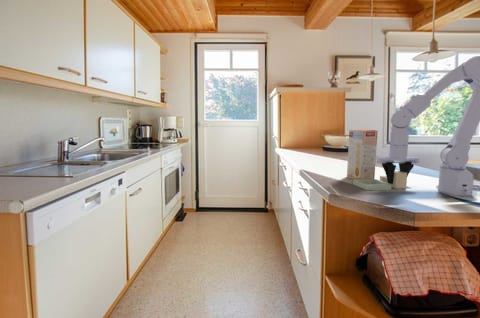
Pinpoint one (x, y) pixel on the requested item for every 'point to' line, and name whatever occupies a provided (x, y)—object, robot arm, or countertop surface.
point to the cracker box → (362, 154)
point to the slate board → (402, 188)
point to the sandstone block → (399, 180)
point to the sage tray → (364, 182)
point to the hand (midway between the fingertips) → (396, 183)
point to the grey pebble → (384, 179)
